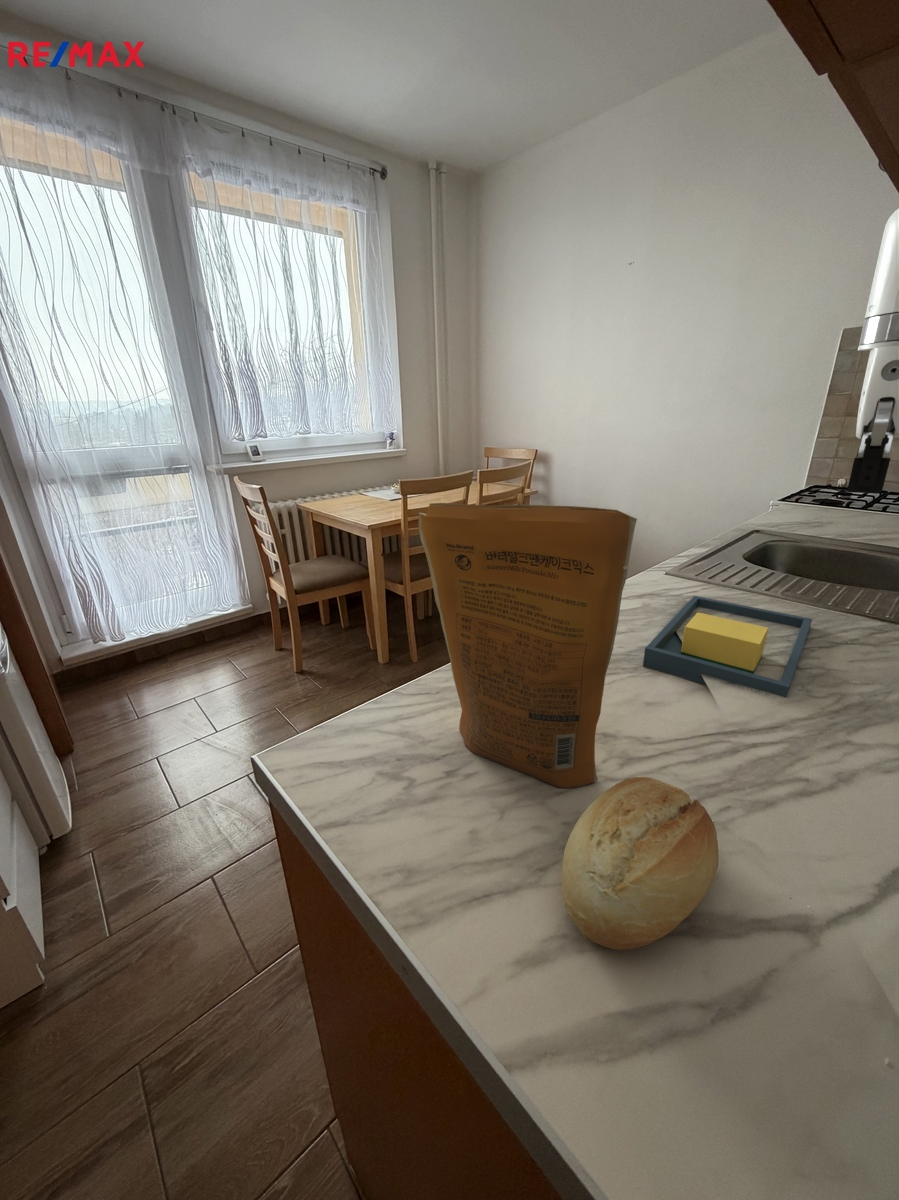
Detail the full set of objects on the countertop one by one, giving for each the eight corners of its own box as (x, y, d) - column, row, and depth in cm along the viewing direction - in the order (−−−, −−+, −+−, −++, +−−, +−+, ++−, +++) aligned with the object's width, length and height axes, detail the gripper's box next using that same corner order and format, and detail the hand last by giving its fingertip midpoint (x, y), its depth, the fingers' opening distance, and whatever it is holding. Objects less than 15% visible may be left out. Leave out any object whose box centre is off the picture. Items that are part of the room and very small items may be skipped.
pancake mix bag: (596, 818, 44) (625, 517, 34) (428, 748, 54) (411, 499, 44) (617, 773, 49) (648, 500, 39) (460, 716, 60) (451, 487, 49)
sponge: (692, 642, 73) (697, 612, 71) (761, 659, 67) (768, 627, 65) (679, 658, 69) (684, 626, 67) (752, 678, 63) (760, 644, 61)
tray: (691, 611, 86) (694, 595, 85) (807, 636, 75) (812, 618, 74) (642, 666, 69) (644, 647, 68) (783, 708, 59) (789, 687, 57)
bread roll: (734, 858, 40) (753, 783, 37) (658, 1010, 30) (676, 925, 27) (624, 798, 46) (633, 730, 43) (532, 909, 37) (535, 831, 34)
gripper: (957, 321, 46) (906, 500, 53) (943, 331, 58) (903, 476, 65) (856, 333, 51) (821, 496, 57) (863, 340, 63) (833, 474, 69)
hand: (865, 485), depth 61 cm, fingers open, 9 cm apart
